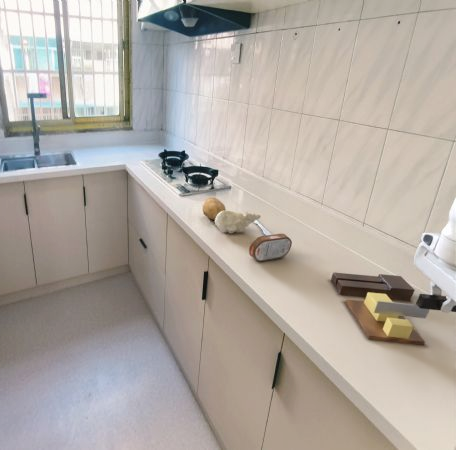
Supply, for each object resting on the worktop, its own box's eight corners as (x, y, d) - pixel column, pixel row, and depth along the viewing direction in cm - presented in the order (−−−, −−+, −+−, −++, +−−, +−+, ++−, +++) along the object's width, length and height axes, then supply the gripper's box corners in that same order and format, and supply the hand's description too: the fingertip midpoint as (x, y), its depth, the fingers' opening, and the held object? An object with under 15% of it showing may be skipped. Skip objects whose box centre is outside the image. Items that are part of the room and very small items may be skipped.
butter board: (391, 307, 89) (392, 303, 89) (423, 345, 77) (425, 341, 76) (344, 302, 90) (345, 299, 90) (368, 339, 78) (369, 335, 77)
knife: (448, 318, 77) (458, 297, 75) (453, 323, 76) (464, 302, 73) (372, 310, 79) (379, 289, 77) (375, 315, 77) (383, 294, 75)
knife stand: (396, 287, 98) (400, 275, 97) (410, 301, 92) (415, 289, 90) (330, 280, 100) (333, 269, 99) (339, 294, 94) (343, 283, 92)
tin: (284, 253, 115) (289, 231, 111) (290, 257, 112) (295, 235, 109) (246, 259, 110) (250, 236, 107) (252, 264, 107) (256, 240, 104)
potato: (205, 225, 134) (207, 206, 131) (198, 212, 147) (199, 194, 144) (229, 225, 135) (231, 206, 132) (220, 212, 148) (222, 195, 145)
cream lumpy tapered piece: (205, 234, 131) (229, 223, 118) (205, 217, 133) (228, 204, 121) (237, 241, 137) (263, 231, 124) (236, 225, 139) (262, 213, 127)
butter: (381, 304, 88) (385, 293, 87) (396, 322, 82) (400, 311, 80) (363, 303, 89) (367, 292, 87) (376, 320, 82) (381, 309, 81)
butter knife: (266, 235, 126) (273, 235, 126) (245, 211, 148) (251, 211, 148) (265, 236, 126) (273, 236, 127) (245, 212, 148) (251, 212, 148)
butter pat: (402, 331, 79) (407, 319, 78) (408, 338, 77) (413, 326, 75) (382, 329, 80) (387, 317, 78) (387, 336, 77) (392, 324, 76)
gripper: (523, 279, 60) (490, 340, 66) (446, 231, 79) (426, 281, 84) (484, 277, 61) (455, 336, 66) (418, 230, 79) (399, 279, 85)
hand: (438, 305), depth 76 cm, fingers closed on knife, 2 cm apart
